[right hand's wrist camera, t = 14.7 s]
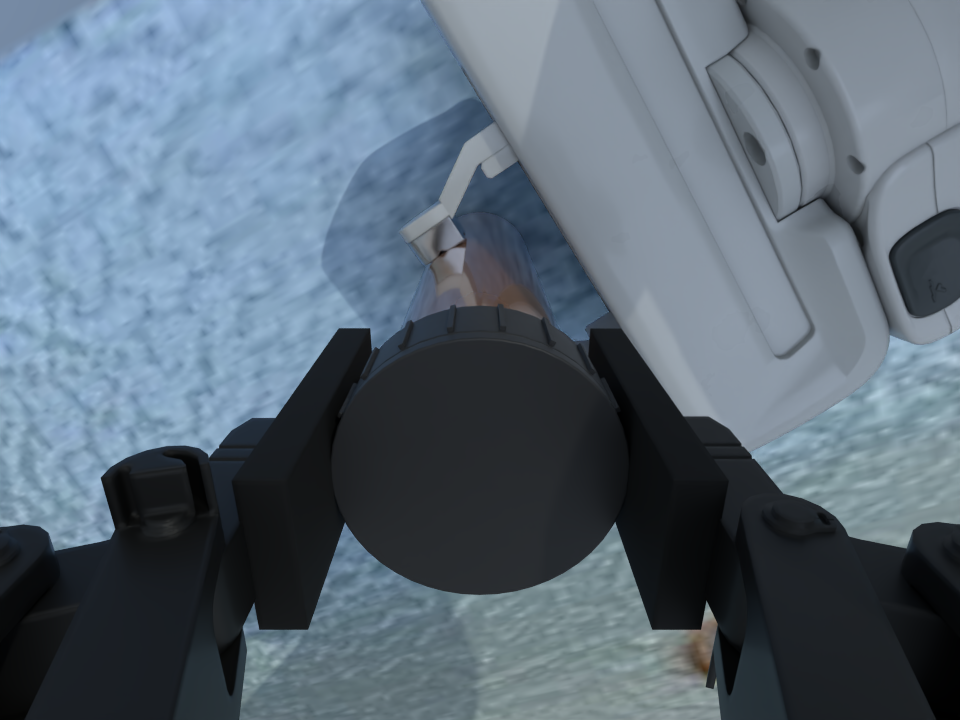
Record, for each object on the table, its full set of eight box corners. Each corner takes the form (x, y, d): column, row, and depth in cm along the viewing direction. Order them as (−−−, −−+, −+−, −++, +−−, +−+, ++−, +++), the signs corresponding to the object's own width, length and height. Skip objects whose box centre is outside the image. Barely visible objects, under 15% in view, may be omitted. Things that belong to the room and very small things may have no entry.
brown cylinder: (452, 196, 26) (405, 310, 10) (543, 234, 27) (645, 402, 10) (418, 286, 28) (328, 517, 11) (505, 320, 29) (540, 585, 12)
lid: (294, 383, 12) (261, 428, 10) (535, 248, 11) (546, 271, 9) (435, 569, 14) (428, 636, 12) (653, 469, 13) (682, 525, 11)
